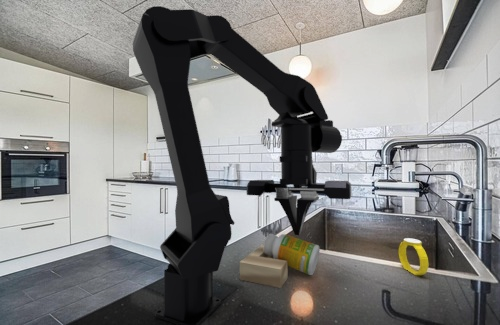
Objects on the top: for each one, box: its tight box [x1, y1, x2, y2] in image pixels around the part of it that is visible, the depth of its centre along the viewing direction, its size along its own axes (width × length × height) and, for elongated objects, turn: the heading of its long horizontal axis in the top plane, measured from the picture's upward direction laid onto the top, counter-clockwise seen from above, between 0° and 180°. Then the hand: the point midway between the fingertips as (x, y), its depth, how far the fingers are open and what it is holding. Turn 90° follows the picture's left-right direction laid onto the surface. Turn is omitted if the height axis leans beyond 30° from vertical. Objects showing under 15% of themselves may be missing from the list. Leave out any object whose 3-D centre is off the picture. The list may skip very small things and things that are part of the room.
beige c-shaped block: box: [239, 243, 288, 289], centre depth 47 cm, size 14×8×3 cm, turn 155°
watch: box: [398, 237, 430, 276], centre depth 44 cm, size 6×3×6 cm, turn 3°
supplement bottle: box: [263, 233, 320, 276], centre depth 45 cm, size 5×5×10 cm
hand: (297, 234), depth 45 cm, fingers closed
